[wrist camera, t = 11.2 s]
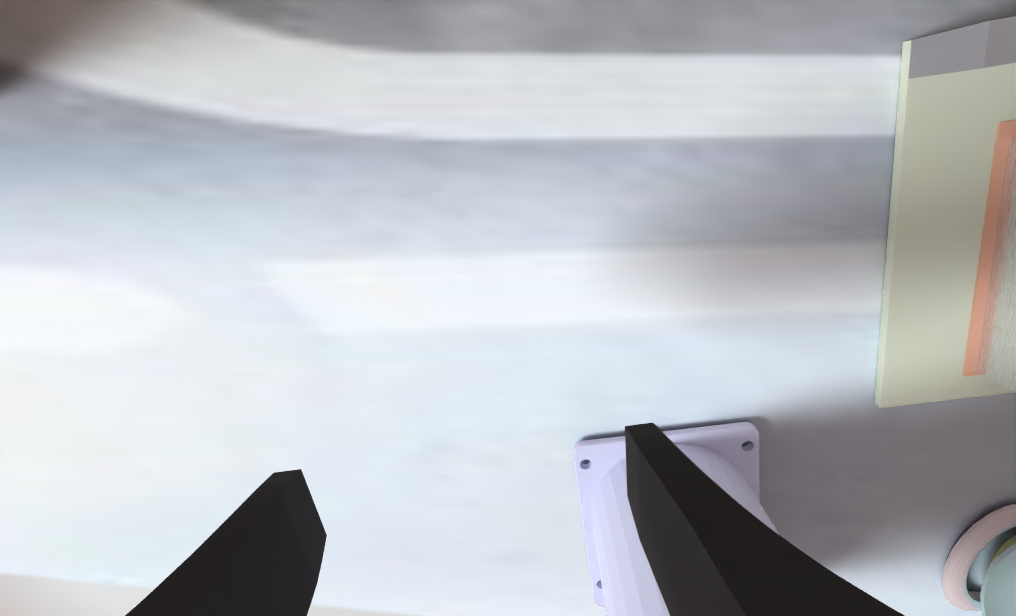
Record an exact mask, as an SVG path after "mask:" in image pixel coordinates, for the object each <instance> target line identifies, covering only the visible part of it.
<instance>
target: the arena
mask: <svg viewBox="0 0 1016 616" xmlns="http://www.w3.org/2000/svg"><path fill="white" fill-rule="evenodd" d="M1012 138H1016V16H1013V17H1008V18H1002V19H996V20H991V21H986V22H982V23H978V24H974V25H970V26H966V27H962V28H958V29H954V30H950V31H946V32H942V33H938V34H934V35H930V36H926V37H922V38H918V39H914V40H910V41H906V42H903V48H902V61H901V74H900V86H899V99H898V111H897V124H896V137H895V149H894V162H893V174H892V187H891V200H890V212H889V225H888V237H887V250H886V263H885V275H884V288H883V300H882V313H881V326H880V338H879V351H878V363H877V376H876V389H875V401H874V404H876V405H877V406H878V407H880V408H887V407H895V406H904V405H913V404H921V403H930V402H939V401H947V400H956V399H965V398H973V397H982V396H990V395H999V394H1008V393H1016V392H1015V391H1013V390H1011V389H1009V388H1007V387H1005V386H1003V385H1001V384H999V383H998V382H996V381H994V380H992V379H990V378H988V377H986V376H984V375H982V374H980V373H979V372H977V371H976V367H977V360H978V353H979V346H980V340H981V333H982V326H983V319H984V313H985V306H986V299H987V292H988V285H989V279H990V272H991V265H992V258H993V252H994V245H995V238H996V231H997V224H998V218H999V211H1000V204H1001V197H1002V190H1003V184H1004V177H1005V170H1006V163H1007V157H1008V150H1009V143H1010V139H1012Z"/></svg>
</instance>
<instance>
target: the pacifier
mask: <svg viewBox="0 0 1016 616" xmlns="http://www.w3.org/2000/svg"><path fill="white" fill-rule="evenodd" d="M1013 527H1016V504H1012V505H1007V506H1004V507H1002V508H1000V509H998V510H995V511H993V512H991V513H989V514H988V515H986V516H985V517H983V518H982V519H980V520H979V521H977V522H976V523H975V524H974V525H973V526H971V527H970V528H969V529H968V530H967V531H966V532H965V533H964V534H963V535H962V536H961V538H960V539H959V540H958V542H957V543H956V544H955V545H954V547H953V548H952V550H951V552H950V554H949V556H948V558H947V560H946V562H945V565H944V569H943V572H942V588H943V591H944V593H945V596H946V599H947V600H948V601H949V602H950V603H951V604H952V605H954V606H956V607H958V608H961V609H963V610H968V611H980V610H982V613H983V616H1016V535H1014V536H1013V537H1011V538H1010V539H1009V540H1008V541H1006V542H1005V543H1004V544H1003V545H1002V546H1001V547H1000V549H999V550H998V551H997V553H996V554H995V556H994V557H993V559H992V561H991V564H990V567H989V569H988V570H987V572H986V574H985V576H984V579H983V583H982V587H981V591H979V592H975V591H968V590H967V588H966V580H967V575H968V571H969V568H970V566H971V564H972V562H973V561H974V559H975V557H976V556H977V555H978V554H979V552H980V551H981V550H982V549H983V548H984V547H985V546H986V545H987V544H988V543H989V542H990V541H991V540H993V539H994V538H995V537H997V536H998V535H1000V534H1001V533H1003V532H1004V531H1007V530H1009V529H1011V528H1013Z"/></svg>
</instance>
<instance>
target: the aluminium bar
mask: <svg viewBox="0 0 1016 616" xmlns="http://www.w3.org/2000/svg"><path fill="white" fill-rule="evenodd" d="M976 371H977V372H979V373H980V374H982V375H984V376H986V377H988V378H990V379H992V380H994V381H996V382H998V383H999V384H1001V385H1003V386H1005V387H1007V388H1009V389H1011V390H1013V391H1015V392H1016V138H1012V139H1010V143H1009V150H1008V157H1007V163H1006V170H1005V177H1004V184H1003V190H1002V197H1001V204H1000V211H999V218H998V224H997V231H996V238H995V245H994V252H993V258H992V265H991V272H990V279H989V285H988V292H987V299H986V306H985V313H984V319H983V326H982V333H981V340H980V346H979V353H978V360H977V367H976Z"/></svg>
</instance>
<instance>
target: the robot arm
mask: <svg viewBox="0 0 1016 616" xmlns="http://www.w3.org/2000/svg"><path fill="white" fill-rule="evenodd" d="M746 441H750V443H749V444H748V445H746V446H742V444H743V443H744V442H746ZM573 458H574V465H575V472H576V479H577V486H578V493H579V500H580V507H581V514H582V521H583V528H584V536H585V543H586V550H587V557H588V564H589V571H590V578H591V585H592V592H593V599H594V602H595V603H596V604H597V605H599V606H602V607H605V609H606V615H607V616H904V615H903V614H901V613H899V612H897V611H896V610H894V609H892V608H890V607H889V606H887V605H885V604H884V603H882V602H880V601H879V600H877V599H875V598H874V597H872V596H870V595H869V594H867V593H866V592H864V591H862V590H861V589H859V588H857V587H856V586H854V585H852V584H851V583H849V582H847V581H846V580H844V579H842V578H841V577H839V576H838V575H836V574H834V573H833V572H831V571H830V570H828V569H827V568H825V567H824V566H822V565H821V564H819V563H818V562H816V561H815V560H813V559H812V558H810V557H809V556H808V555H806V554H805V553H803V552H802V551H801V550H799V549H798V548H796V547H795V546H793V545H792V544H791V543H789V542H788V541H787V540H785V539H784V538H783V537H781V536H780V534H779V532H778V531H777V529H776V528H775V526H774V524H773V523H772V521H771V520H770V518H769V516H768V515H767V513H766V512H765V510H764V508H763V507H762V505H761V504H760V495H759V431H758V430H757V428H756V427H755V426H754V425H753V424H752V423H750V422H740V423H731V424H722V425H714V426H705V427H697V428H688V429H679V430H671V431H661V430H660V429H659V428H658V427H657V426H656V425H655V424H654V423H647V424H639V425H632V426H625V436H619V437H611V438H602V439H593V440H585V441H580V442H578V443H576V444H575V445H574V447H573ZM585 459H586V460H589V461H590V462H589V463H587V464H582V463H581V461H582V460H585ZM326 536H327V535H326V532H325V530H324V527H323V525H322V522H321V519H320V517H319V514H318V512H317V509H316V507H315V504H314V502H313V499H312V496H311V494H310V491H309V489H308V486H307V484H306V481H305V478H304V476H303V473H302V471H301V469H299V470H292V471H284V472H277V473H273V474H272V475H271V476H270V477H269V478H268V479H267V480H266V481H265V482H264V483H263V484H262V485H261V486H259V487H258V488H257V489H256V490H255V491H254V492H253V493H252V494H251V495H250V496H249V497H248V499H247V500H246V501H245V502H244V503H243V504H242V505H241V506H240V507H239V508H238V509H237V510H236V511H235V512H234V513H233V514H232V515H231V516H230V517H229V518H228V519H227V520H226V521H225V522H224V523H223V524H222V525H221V526H220V527H219V528H218V529H217V530H216V531H215V532H214V533H213V534H212V535H211V536H210V537H209V538H208V539H207V540H206V541H205V542H204V543H203V544H202V545H201V546H200V547H199V548H198V549H197V550H196V551H195V552H194V553H193V554H192V555H191V556H190V557H189V558H187V559H186V560H185V561H184V562H183V563H182V564H181V565H180V566H179V567H178V568H177V569H176V570H175V571H174V572H173V573H171V574H170V575H169V576H168V577H167V578H166V579H165V580H164V581H163V582H162V583H161V584H160V585H159V586H158V587H156V588H155V589H154V590H153V591H152V592H151V593H150V594H149V595H148V596H147V597H146V598H145V599H144V600H142V601H141V602H140V603H139V604H138V605H137V606H136V607H135V608H134V609H132V610H131V611H130V612H129V613H128V614H127V615H125V616H307V613H308V610H309V607H310V604H311V601H312V598H313V595H314V591H315V588H316V585H317V582H318V577H319V572H320V568H321V563H322V558H323V552H324V547H325V542H326ZM600 580H601V582H599V581H600Z"/></svg>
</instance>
